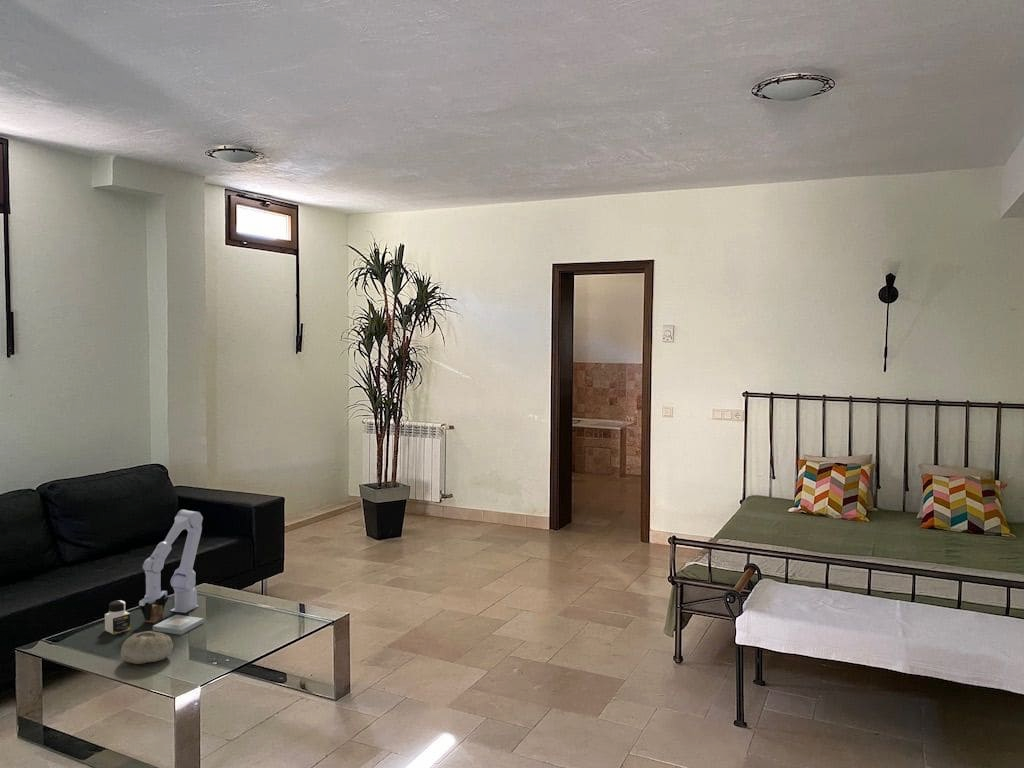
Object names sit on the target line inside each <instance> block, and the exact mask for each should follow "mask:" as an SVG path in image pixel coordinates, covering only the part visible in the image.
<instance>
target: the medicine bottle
mask: <svg viewBox="0 0 1024 768" xmlns="http://www.w3.org/2000/svg"><path fill="white" fill-rule="evenodd" d="M130 630H131V613H130V612H128V611H126V601H124V600H121V599H120V600H119V599H118V600H114V601H111V602H110V603H108V612H107V613H104V631H105V632H107V633H110V634H112V635H117V634H121V633H122V632H126V631H130Z"/></svg>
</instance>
